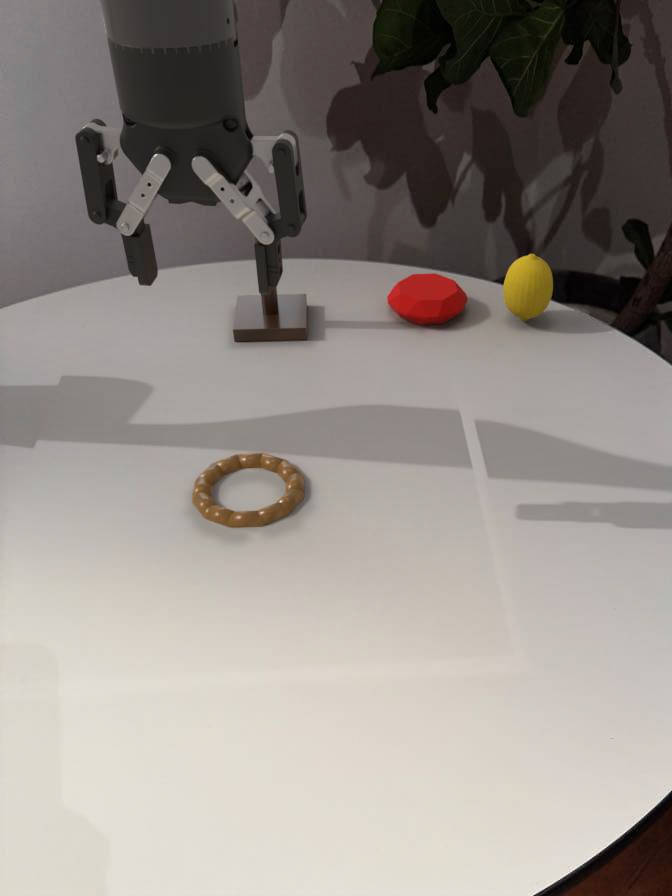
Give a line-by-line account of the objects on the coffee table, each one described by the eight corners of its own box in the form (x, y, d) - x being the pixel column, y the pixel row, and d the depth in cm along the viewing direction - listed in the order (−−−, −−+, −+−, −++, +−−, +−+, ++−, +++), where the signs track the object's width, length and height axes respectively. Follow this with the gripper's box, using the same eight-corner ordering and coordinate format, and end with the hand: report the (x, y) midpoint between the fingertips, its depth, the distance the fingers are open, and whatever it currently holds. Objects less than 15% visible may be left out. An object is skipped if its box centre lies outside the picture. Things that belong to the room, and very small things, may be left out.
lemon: (547, 310, 103) (556, 245, 97) (548, 334, 99) (558, 267, 93) (500, 307, 103) (507, 242, 98) (499, 330, 99) (506, 264, 93)
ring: (189, 536, 73) (186, 522, 72) (199, 465, 80) (197, 451, 79) (304, 531, 73) (303, 517, 72) (304, 461, 81) (303, 447, 79)
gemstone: (412, 336, 98) (412, 312, 96) (375, 302, 103) (375, 278, 101) (479, 318, 101) (481, 294, 99) (440, 286, 107) (441, 263, 105)
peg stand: (234, 341, 96) (221, 241, 88) (238, 307, 102) (226, 209, 94) (307, 339, 97) (300, 239, 89) (307, 305, 103) (300, 208, 95)
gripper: (25, 35, 48) (91, 304, 59) (279, 48, 47) (297, 318, 58) (76, 5, 54) (128, 255, 65) (304, 16, 53) (317, 268, 64)
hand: (208, 285), depth 62 cm, fingers open, 8 cm apart
